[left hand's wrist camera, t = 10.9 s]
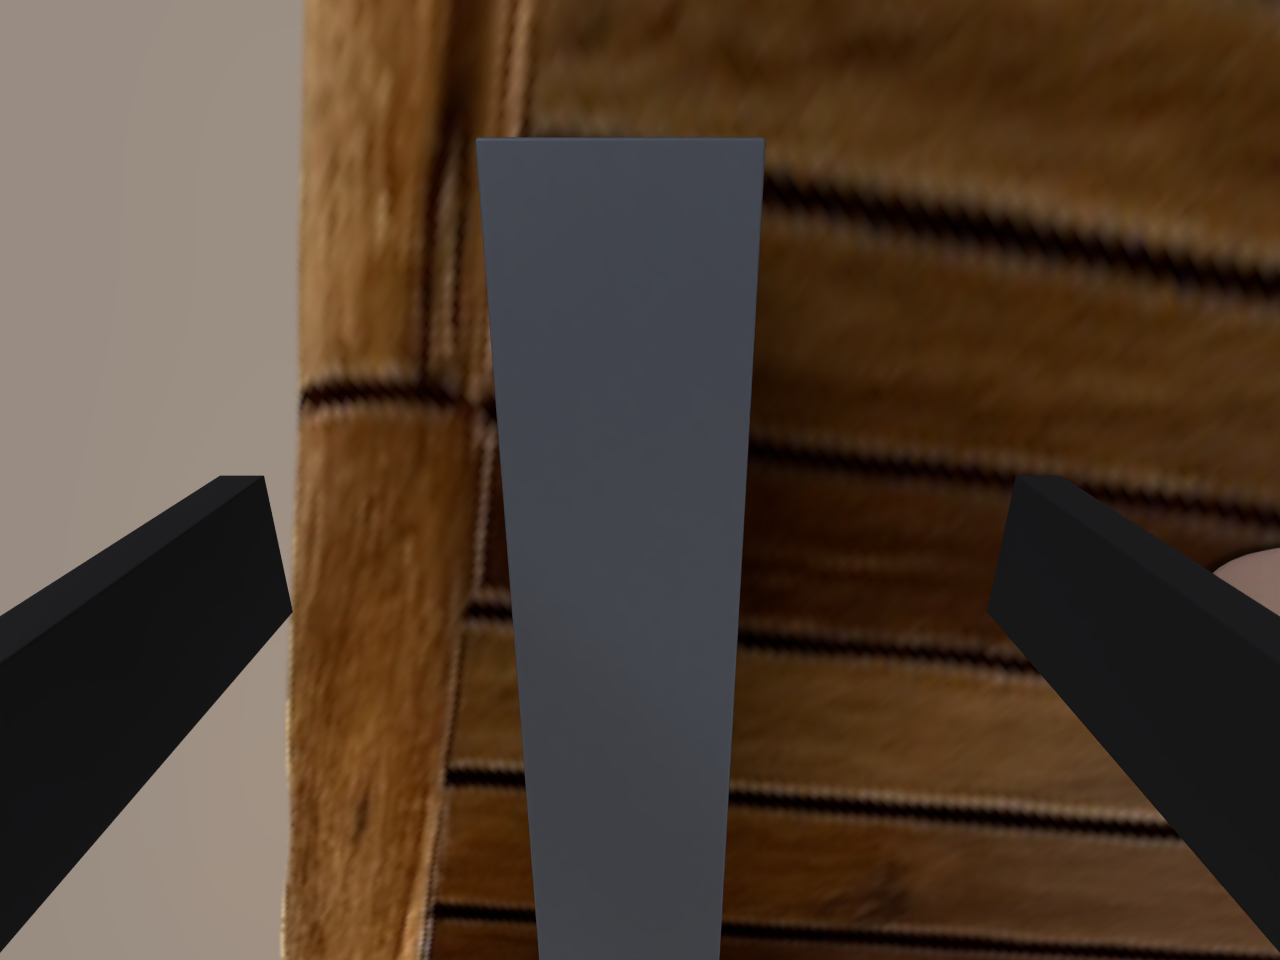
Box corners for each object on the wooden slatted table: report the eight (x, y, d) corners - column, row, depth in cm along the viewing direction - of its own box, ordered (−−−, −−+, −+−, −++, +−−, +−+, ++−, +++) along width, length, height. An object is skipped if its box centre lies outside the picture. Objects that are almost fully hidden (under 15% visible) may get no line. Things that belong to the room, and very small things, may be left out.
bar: (526, 164, 22) (474, 137, 14) (714, 164, 22) (766, 137, 14) (584, 1209, 43) (576, 1431, 35) (680, 1206, 43) (693, 1426, 35)
